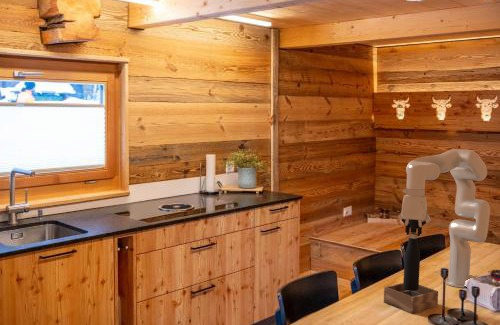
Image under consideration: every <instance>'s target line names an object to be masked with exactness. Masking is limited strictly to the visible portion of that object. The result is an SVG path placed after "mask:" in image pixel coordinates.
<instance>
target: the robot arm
mask: <svg viewBox="0 0 500 325" xmlns="http://www.w3.org/2000/svg"><path fill="white" fill-rule="evenodd" d="M448 172H450V175H451V177H452V178H453V179H454V182H455V185H456V195H455V202H454V212H455V214H456V215H457V216H459V217H462V218H467V219H473V220H475V221H472V220H466V219H462V218H461V219H458V218H457V219H453V220H452V221H450V223H449V224H448V232H449V243H450V244H449V262H448V278H446V283H445V284H446V285H448V286H451V287H456V288H462V289H463V288H464V284H465V281H466V280H468V279H470V278H476V277H478V278H479V276H478V275H474V276H473V274H470V273H471V272H470V270H471V258H472V257H471V256H472V255H471V253H472V248H471V244H470V243H469V242H471V243H477V244H478V243H479V244H483V243H484V242H485V241H486V239H487V237H488V233H489V224H490V215H491V207H490V203H489V202H488V201H487V200H485V199H478V198H476V190H477V188H476V185H475V182H474V181H477V182H481V181H484V180H485V179H486V177H487V175H488V167H487V165H486V164H485V162H484V161H483V159H482V158H481V157H480V155H479V154H478V153H477V152H476V151H474V150H470V149H459V148H452V149H449V150H447V151H445V152H443V153H439V154H433V155H428V156H421V157H417V158H415V159H412V160H411V161H409V162H408V164H407V165H406V168H405V173H406V187H405V188H402V193H405V194H404V195H403V198H402V199H403V200H402V202H401V203H402V205H401V212H400V213H399V214H398V215H397V219H399V220H400V221H401V223H403V224H404V225H405V229H404V230H405V233H406V236H408V235H409V234H410V233H411V232H410V231H411V228H409V220H418V222H419V225H418V229H417V233H416V234H417V237H420V236H421V235H422V233H423V226H424V225H426V224H428V223H430V222H431V221H432V218H431V217H430V215H429V213H428V203H427V196H425V193H426V192H425V189H426V181H434V180H436V179H438V178H439V176H440V174H445V173H448ZM409 236H410V235H409Z"/></svg>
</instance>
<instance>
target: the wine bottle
mask: <svg viewBox="0 0 500 325" xmlns="http://www.w3.org/2000/svg"><path fill="white" fill-rule="evenodd" d="M418 226H419V222H418V220H411V219H410V220H409V228H410V234H409V237H408V244H407V246H406V249H405V253H404V259H403V260H404V261H403V262H404V264H403V265H404V266H403V281H402V283H403V288H404V289H406V290H409V291H416V290H418V289H419V285H420V270H421V269H420V268H421V265H420V264H421V254H420V253H421V252H420V248H419V245H418V242H419V240H418V239H419V238H418V236H417V230H418Z"/></svg>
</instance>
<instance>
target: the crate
mask: <svg viewBox="0 0 500 325" xmlns="http://www.w3.org/2000/svg"><path fill="white" fill-rule="evenodd" d="M383 303H384V304H386V305H388V306H391V307H394V308H396V309H399V310H400V311H402V312H403V311H404V312H405V313H409V314H411V315H414V314H417V313H421V312H424V311H427V310H428V309H429V310H432V309H436V308H438V306H439V305H438V303H439V290H435V289H433V288H430V287H427V286H425V285H421V284H419V289H418V290H416V291H409V290H406V289H404V288H403V282H400V283H397V284H393V285H387V286H384V287H383ZM435 307H436V308H435Z"/></svg>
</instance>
